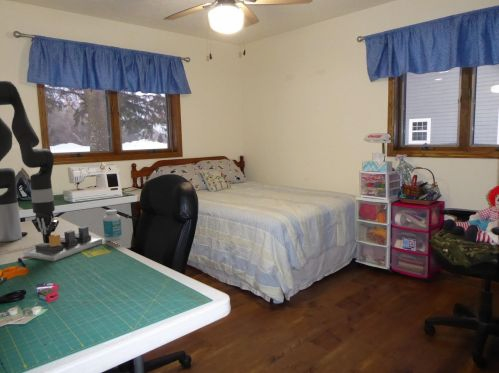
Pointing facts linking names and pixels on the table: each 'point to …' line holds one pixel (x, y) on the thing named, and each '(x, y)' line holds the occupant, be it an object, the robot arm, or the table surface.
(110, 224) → the pill bottle
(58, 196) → the table surface
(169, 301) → the table surface
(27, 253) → the panel
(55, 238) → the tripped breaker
